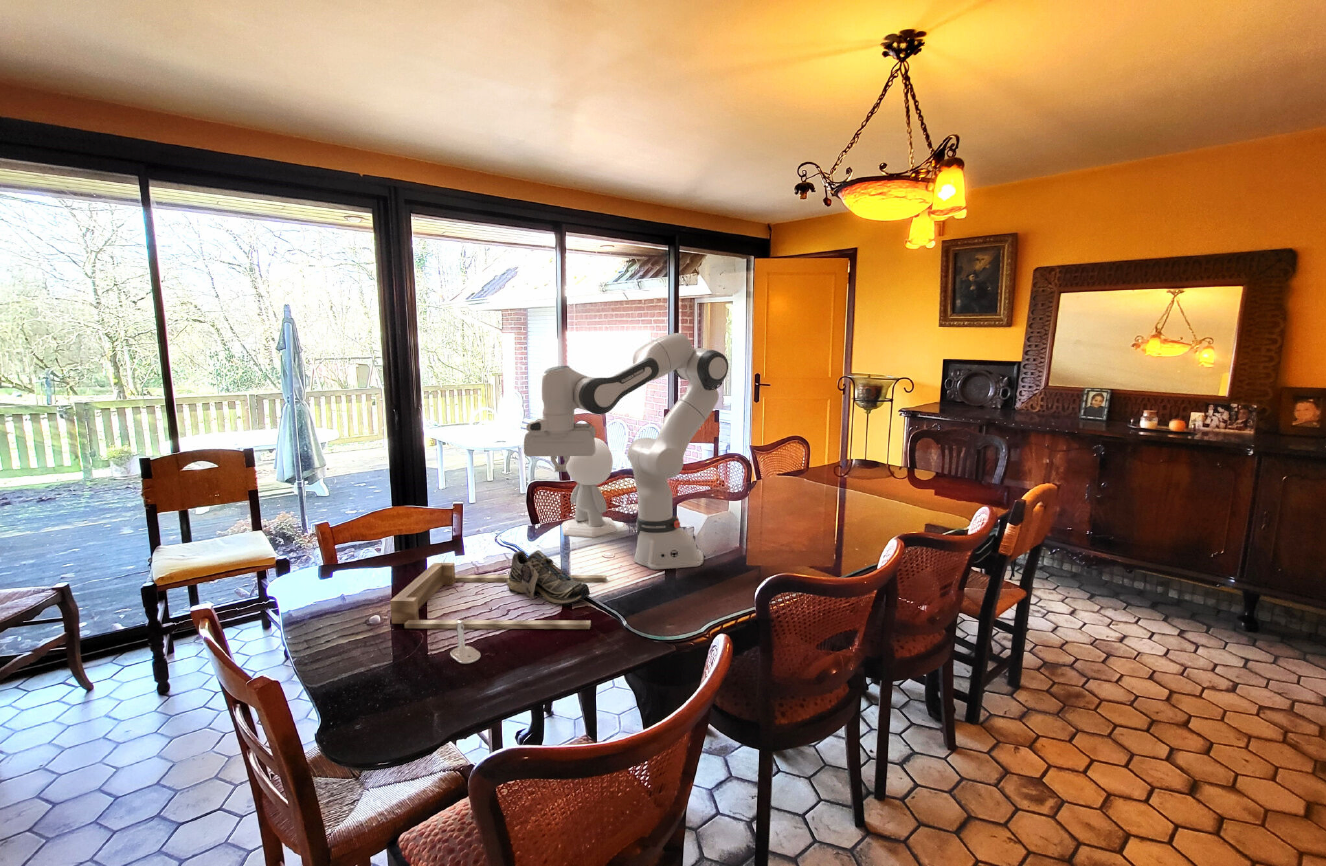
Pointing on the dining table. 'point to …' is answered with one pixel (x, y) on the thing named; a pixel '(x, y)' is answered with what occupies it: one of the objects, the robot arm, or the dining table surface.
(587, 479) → the white toy figurine
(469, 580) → the lane strip right
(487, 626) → the strip
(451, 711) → the dining table surface
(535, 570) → the running shoe
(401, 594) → the bar
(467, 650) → the white stemmed disc stand
